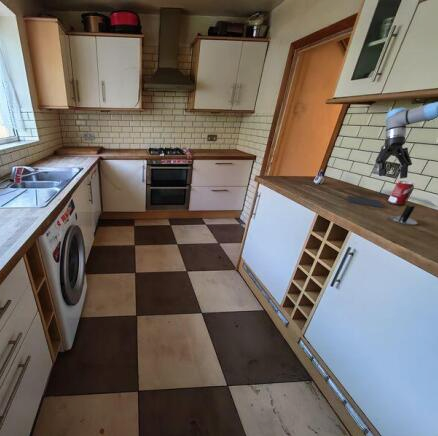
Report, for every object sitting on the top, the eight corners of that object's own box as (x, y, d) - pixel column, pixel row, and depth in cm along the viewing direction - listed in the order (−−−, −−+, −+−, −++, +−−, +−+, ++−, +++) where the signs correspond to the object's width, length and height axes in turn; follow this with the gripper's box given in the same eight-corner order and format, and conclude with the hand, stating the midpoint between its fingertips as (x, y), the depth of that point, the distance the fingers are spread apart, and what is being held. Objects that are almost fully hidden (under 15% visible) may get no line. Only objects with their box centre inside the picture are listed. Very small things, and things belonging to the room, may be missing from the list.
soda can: (392, 205, 123) (403, 183, 118) (384, 200, 129) (394, 180, 124) (407, 206, 121) (419, 184, 116) (398, 202, 127) (409, 181, 122)
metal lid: (413, 220, 105) (422, 204, 102) (419, 227, 99) (429, 211, 95) (387, 215, 110) (395, 200, 107) (391, 222, 103) (400, 206, 100)
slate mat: (378, 201, 127) (379, 200, 127) (383, 208, 118) (384, 207, 118) (347, 196, 134) (347, 195, 134) (349, 202, 125) (349, 201, 125)
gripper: (405, 143, 129) (403, 180, 129) (367, 137, 126) (365, 175, 125) (423, 138, 121) (421, 177, 121) (383, 132, 118) (381, 173, 118)
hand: (392, 176), depth 123 cm, fingers open, 13 cm apart
